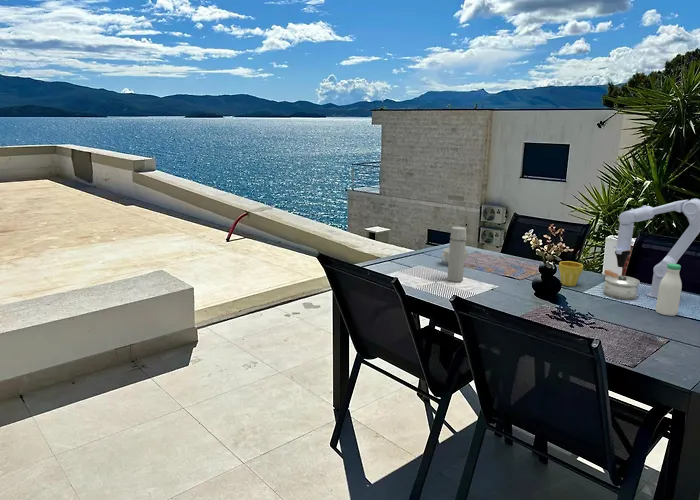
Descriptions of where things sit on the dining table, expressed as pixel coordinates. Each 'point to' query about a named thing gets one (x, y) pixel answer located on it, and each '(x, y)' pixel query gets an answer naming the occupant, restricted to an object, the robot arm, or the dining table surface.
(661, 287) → the milk bottle
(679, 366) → the dining table surface
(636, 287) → the cooker pot
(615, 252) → the robot arm
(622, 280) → the cooker lid
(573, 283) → the plant pot
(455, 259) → the water bottle
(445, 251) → the teacup
